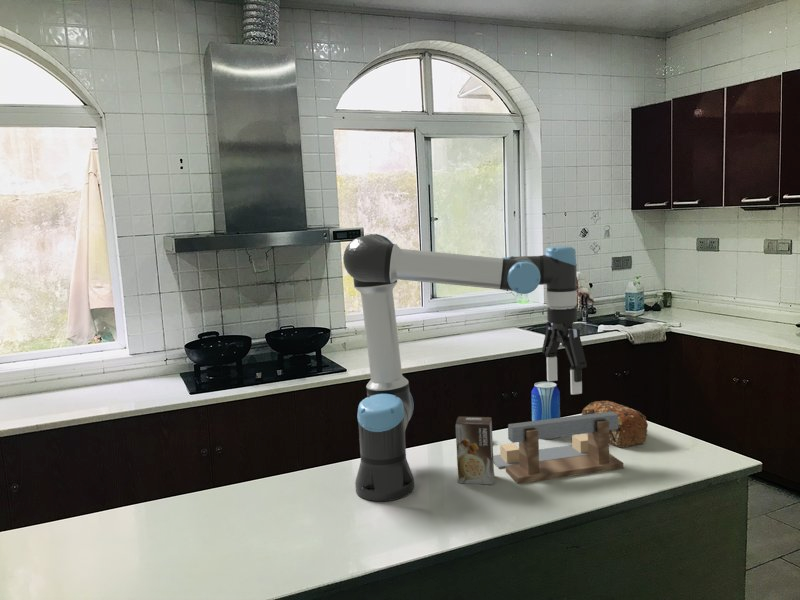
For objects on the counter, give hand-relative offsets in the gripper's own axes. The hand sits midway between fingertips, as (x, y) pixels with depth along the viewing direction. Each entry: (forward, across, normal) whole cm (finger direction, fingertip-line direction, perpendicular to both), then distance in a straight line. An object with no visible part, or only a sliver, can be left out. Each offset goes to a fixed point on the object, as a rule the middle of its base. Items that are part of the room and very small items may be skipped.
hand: (563, 387), depth 168 cm
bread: (+23, +18, -25) cm, 38 cm away
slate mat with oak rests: (+23, +11, 0) cm, 25 cm away
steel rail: (+13, 0, 0) cm, 13 cm away
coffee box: (+23, +2, +24) cm, 33 cm away
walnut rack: (+23, 0, 0) cm, 23 cm away
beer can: (+23, +26, -7) cm, 35 cm away
